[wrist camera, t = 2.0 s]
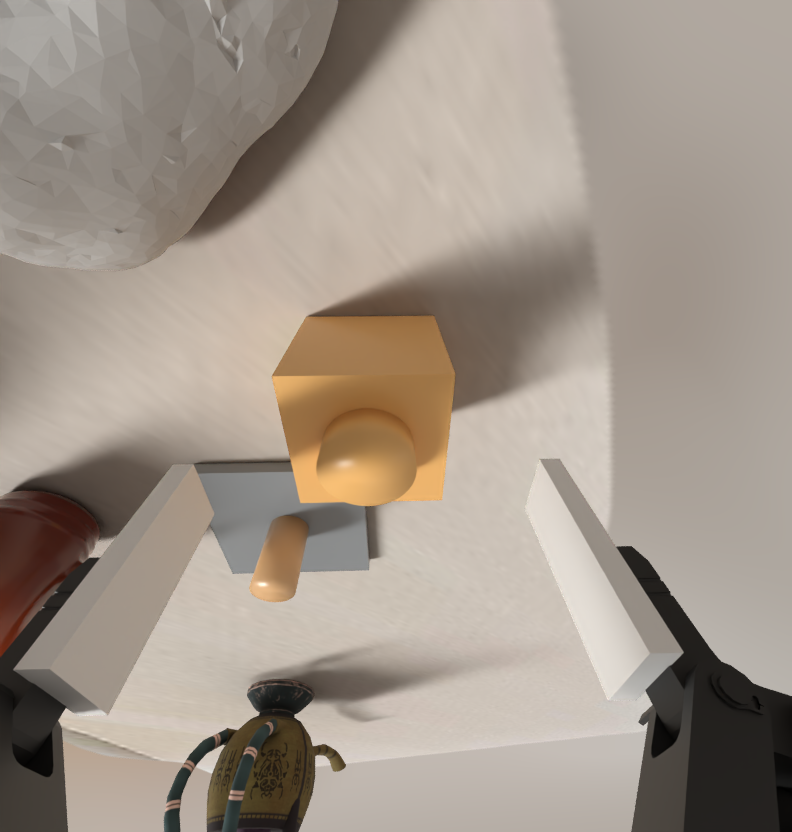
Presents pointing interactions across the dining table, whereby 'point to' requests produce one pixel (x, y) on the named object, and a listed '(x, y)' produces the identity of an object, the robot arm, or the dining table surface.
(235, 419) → the dining table surface
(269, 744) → the teapot
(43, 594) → the mug
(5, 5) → the decorative stone
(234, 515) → the plate
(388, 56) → the dining table surface
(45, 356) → the dining table surface
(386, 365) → the orange cube with dome
